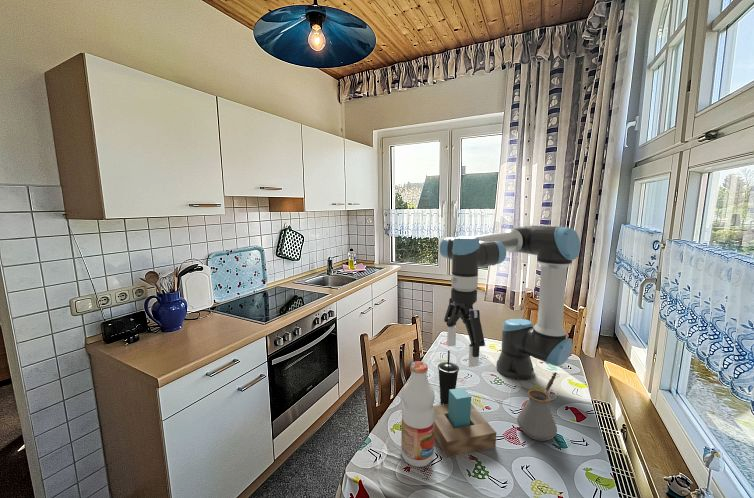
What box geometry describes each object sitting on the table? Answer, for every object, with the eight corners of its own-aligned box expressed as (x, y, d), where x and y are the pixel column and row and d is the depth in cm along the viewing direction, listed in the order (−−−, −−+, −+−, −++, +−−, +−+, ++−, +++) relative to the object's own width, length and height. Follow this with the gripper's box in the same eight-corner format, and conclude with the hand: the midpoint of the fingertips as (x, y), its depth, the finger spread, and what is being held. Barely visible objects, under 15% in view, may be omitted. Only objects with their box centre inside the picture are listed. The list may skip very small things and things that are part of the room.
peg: (461, 426, 102) (463, 387, 100) (469, 437, 97) (471, 396, 96) (447, 429, 101) (449, 389, 99) (454, 440, 96) (456, 398, 94)
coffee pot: (548, 451, 92) (552, 405, 90) (510, 431, 100) (513, 388, 98) (571, 419, 106) (575, 378, 104) (536, 403, 114) (539, 365, 112)
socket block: (467, 413, 109) (468, 400, 108) (495, 447, 93) (496, 432, 93) (425, 420, 105) (425, 407, 104) (446, 457, 90) (447, 441, 89)
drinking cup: (458, 409, 111) (460, 356, 108) (436, 406, 113) (438, 354, 110) (457, 396, 119) (459, 347, 116) (436, 394, 120) (438, 345, 117)
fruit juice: (406, 439, 97) (407, 354, 93) (436, 447, 93) (438, 360, 90) (396, 462, 88) (397, 370, 84) (429, 472, 85) (432, 376, 81)
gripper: (435, 279, 104) (433, 339, 107) (475, 301, 80) (472, 378, 83) (455, 278, 106) (453, 337, 109) (500, 299, 82) (496, 374, 85)
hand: (461, 355), depth 96 cm, fingers open, 13 cm apart
